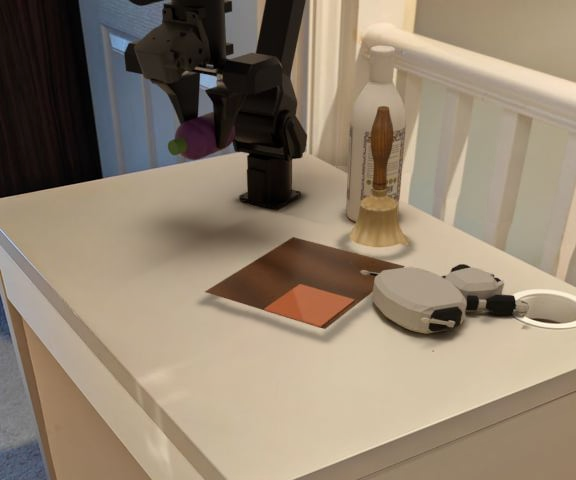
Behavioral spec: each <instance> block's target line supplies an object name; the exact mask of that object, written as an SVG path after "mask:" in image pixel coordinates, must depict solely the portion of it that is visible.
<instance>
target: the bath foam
mask: <svg viewBox="0 0 576 480" xmlns="http://www.w3.org/2000/svg"><path fill="white" fill-rule="evenodd" d="M395 57H396V48H395V47H393V46H391V45H373V46H372V47H370V50H369V65H368V66H369V67H368V80H367V83H366V84H365V86H364V88H363V89H362V91H361V92H360V94H359V96H358V97H357V98H356V101H355V103H354V104H353V108H352V111H351V115H350V120H349V121H350V122H349V135H348V137H349V138H348V154H347V155H348V157H347V158H348V159H347V181H346V183H347V184H346V202H345V203H346V206H345V208H346V209H345V213H346V216H347V217H348V218H349V220H351V221H353V222H355V223H356V221H357V218H358V215H359V209H360V203H361V201H362V200H363V199H364V198H366V197H369V196H371V195H372V191H373V187H372V184H373V174H374V161H373V156H372V152H371V130H372V126H373V123H374V120H375V117H376V114H377V110H378V107H380V106H386V107H389V112H390V117H391V121H392V125H393V144H392V150H391V154H390V157H389V159H388V164H387V181H386V183H387V187H386V188H387V196H389V197H391V198H393V199H394V200H395V201H396V202H397V214H398V215H399V209H400V207H399V206H400V198H401V186H402V176H403V163H404V153H405V140H406V128H407V115H406V109H405V105H404V103H403V100H402V97H401V95H400V93H399V92H398V89H397V88H396V86H395V83H394V81H393V80H394V72H395Z"/></svg>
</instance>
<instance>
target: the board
mask: <svg viewBox="0 0 576 480" xmlns="http://www.w3.org/2000/svg"><path fill="white" fill-rule="evenodd" d="M398 268H406V267H405V265H402V264H398V263H394V262H391V261H388V260H383V259H379V258H375V257H372V256H367V255H364V254H359V253H357V252H352V251H348V250H346V249H345V250H344V249H342V248H341V249H340V248H337V247H333V246H330V245H326V244H321V243H317V242H314V241H311V240H306V239H303V238H298V237H296V236H295V237H294V236H293V237H291V238H289V239H287V240H286V241H284V242H282V243H281V244H279V245H278V246H276V247H275V248H273V249H271V250H270V251H267V253H264V254H263V255H262V256H260V257H258V258H257V259H255V260H254V261H252V262H250V263H249V264H247V265H246V266H244V267H242V268H241V269H239V270H238V271H237V270H236V272H234V273H233V274H231V275H229V276H227V277H226V278H224V279H223V280H221V281H219V282H218V283H216V284H214V285H213V286H211V287H210V288H208V289H206V290H205V291H204V293H207V294H210V295H214V296H216V297H219V298H223V299H226V300H230V301H233V302H235V303H240V304H243V305H245V306H249V307H252V308H254V309H258V310H261V311H262V310H263V311H264V312H268V313H271V314H274V315H278V316H280V317H285V318H288V319H290V320H293V321H296V322H297V321H298V322H301V323H304V324H307V325H310V326H314V327H317V328H320V329H323V330H326V329H327V328H329V327H330V326H331V325H333V324H334V323H335V322H336V321H337V320H339V319H340V318H341V317H343V316H344V315H345V314H346V313H348V312H349V311H351V309H353V308H355V306H356V305H358V304H359V303H361V302H362V301H364V299H366V298H367V297H368V296H369V295H371V294H373V287H374V280H375V277H376V276H373V275H363V274H362V273H361V272H360V271H362V270H366V271H368V272H374V273H381V272H382V271H383V270H391V269H398ZM299 284H302V285H305V286H309V287H312V288H316V289H319V290H323V291H326V292H330V293H333V294H337V295H340V296H344V297H347V298H351V299H354V300H355V301H354V302H353V303H352V304H350V305H349V306H348V307H347V308H345V309H344V310H343V311H341V312H340V313H339V314H338V315H336V316H335V317H334V318H332V319H331V320H330V321H329V322H327V323H326V324H325V325H323V326H322V327H318V326H315V325H311V324H308V323H305V322H302V321H299V320H295V319H292V318H289V317H286V316H282V315H279V314H276V313H273V312H269V311H266V310H265V308H266V307H267V306H269V305H270V304H272V303H273V302H275V301H276V300H277V299H279V298H280V297H282V296H283V295H285V294H286V293H288V292H289V291H290V290H292V289H293V288H295V287H296V286H298V285H299Z"/></svg>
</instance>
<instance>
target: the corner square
mask: <svg viewBox="0 0 576 480" xmlns="http://www.w3.org/2000/svg"><path fill="white" fill-rule="evenodd" d="M354 301H355V300H354V299H351V298H347V297H344V296H340V295H337V294H333V293H330V292H326V291H323V290H319V289H316V288H312V287H309V286H305V285H302V284H299V285H298V286H296V287H295V288H293V289H292V290H290V291H289V292H288V293H286V294H285V295H283V296H282V297H280V298H279V299H277V300H276V301H275V302H273V303H272V304H270V305H269V306H267V307H266V308H265V310H266V311H265V310H264V311H265V312H268V311H269V312H268V313H271V312H273V313H272V314H274V313H276V314H275V315H278V314H279V315H278V316H281V315H282V316H281V317H284V316H286V317H285V318H287V317H289V318H288V319H290V318H292V319H291V320H294V319H295V320H294V321H297V320H299V321H298V322H300V321H302V322H301V323H303V322H305V323H304V324H307V323H308V324H307V325H310V324H311V325H310V326H313V325H315V326H314V327H316V326H318V327H317V328H320V327H322V326H323V325H325V324H326V323H327V322H329V321H330V320H331V319H332V318H334V317H335V316H336V315H338V314H339V313H340V312H341V311H343V310H344V309H345V308H347V307H348V306H349V305H350V304H352V303H353V302H354Z"/></svg>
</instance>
